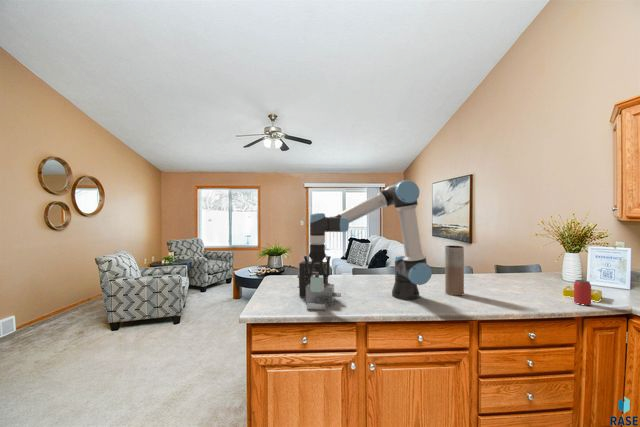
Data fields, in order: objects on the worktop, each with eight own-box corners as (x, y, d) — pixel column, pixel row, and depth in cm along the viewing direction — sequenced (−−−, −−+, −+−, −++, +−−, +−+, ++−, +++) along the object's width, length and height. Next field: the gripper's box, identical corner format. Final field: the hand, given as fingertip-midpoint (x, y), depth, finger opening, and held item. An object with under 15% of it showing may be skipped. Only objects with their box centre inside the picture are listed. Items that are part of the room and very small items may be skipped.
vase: (464, 292, 171) (464, 246, 171) (462, 296, 163) (462, 247, 163) (446, 290, 176) (446, 245, 176) (444, 294, 168) (443, 246, 168)
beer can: (587, 307, 145) (587, 283, 145) (571, 303, 150) (571, 280, 151) (593, 305, 148) (593, 281, 148) (577, 301, 154) (577, 279, 154)
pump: (323, 289, 148) (323, 272, 148) (321, 292, 142) (321, 274, 142) (313, 288, 149) (313, 272, 149) (311, 291, 143) (311, 274, 143)
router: (328, 298, 161) (328, 262, 161) (296, 296, 165) (296, 261, 165) (330, 294, 169) (330, 260, 169) (300, 292, 173) (300, 259, 173)
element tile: (599, 303, 151) (599, 294, 151) (562, 297, 163) (562, 289, 163) (602, 298, 161) (602, 289, 161) (567, 292, 172) (567, 284, 172)
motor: (341, 301, 155) (341, 278, 155) (338, 311, 139) (338, 286, 139) (309, 299, 158) (308, 277, 158) (301, 309, 142) (301, 285, 142)
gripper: (336, 243, 148) (335, 288, 148) (301, 242, 151) (301, 287, 151) (334, 244, 140) (334, 292, 140) (298, 244, 143) (298, 290, 143)
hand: (317, 289), depth 145 cm, fingers closed on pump, 5 cm apart
